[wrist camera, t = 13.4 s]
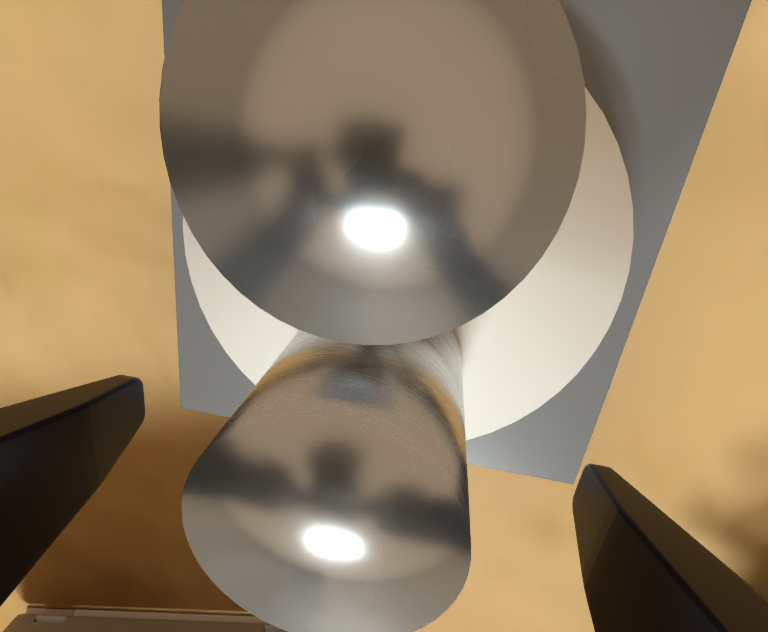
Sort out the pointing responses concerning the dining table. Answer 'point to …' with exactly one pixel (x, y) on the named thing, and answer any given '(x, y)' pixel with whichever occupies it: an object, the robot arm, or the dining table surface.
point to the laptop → (132, 622)
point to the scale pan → (506, 318)
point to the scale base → (648, 192)
